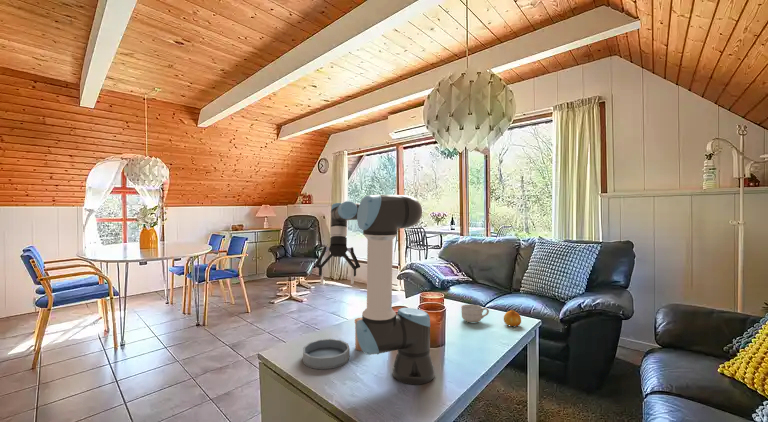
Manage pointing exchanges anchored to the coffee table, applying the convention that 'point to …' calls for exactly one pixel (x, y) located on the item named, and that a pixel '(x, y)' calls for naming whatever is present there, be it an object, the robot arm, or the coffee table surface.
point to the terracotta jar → (356, 337)
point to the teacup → (473, 312)
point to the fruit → (512, 318)
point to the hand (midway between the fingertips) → (337, 283)
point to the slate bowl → (326, 354)
